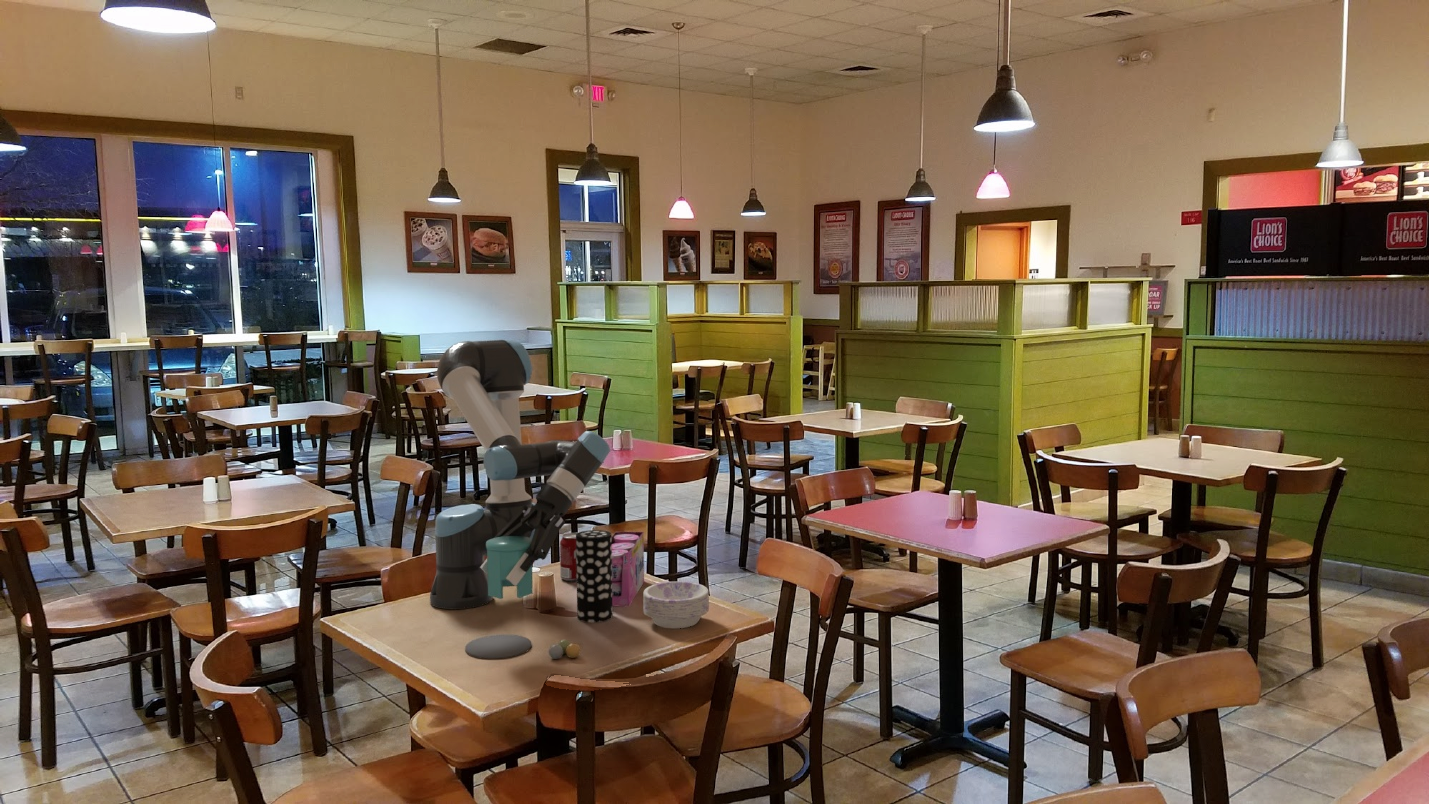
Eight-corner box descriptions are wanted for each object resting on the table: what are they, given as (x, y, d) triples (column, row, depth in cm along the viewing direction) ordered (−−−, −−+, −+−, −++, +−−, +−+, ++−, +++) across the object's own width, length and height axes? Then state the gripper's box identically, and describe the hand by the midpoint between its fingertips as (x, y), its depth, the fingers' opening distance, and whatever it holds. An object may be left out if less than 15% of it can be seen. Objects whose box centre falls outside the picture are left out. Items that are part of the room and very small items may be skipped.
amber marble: (563, 659, 215) (563, 645, 215) (569, 654, 218) (568, 641, 218) (577, 660, 214) (577, 646, 214) (582, 655, 217) (582, 642, 217)
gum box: (629, 608, 251) (628, 553, 249) (597, 607, 251) (596, 553, 250) (644, 581, 274) (644, 531, 273) (615, 580, 275) (614, 531, 274)
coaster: (453, 656, 217) (453, 653, 217) (483, 635, 231) (483, 632, 231) (515, 661, 214) (514, 658, 214) (541, 639, 228) (541, 636, 228)
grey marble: (546, 660, 215) (546, 646, 214) (552, 655, 217) (551, 641, 217) (560, 661, 214) (559, 647, 214) (565, 656, 217) (565, 642, 216)
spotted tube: (615, 612, 247) (614, 530, 245) (608, 623, 239) (607, 538, 237) (581, 611, 248) (580, 529, 246) (573, 621, 240) (572, 537, 238)
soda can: (567, 583, 272) (567, 539, 271) (556, 578, 277) (555, 534, 276) (590, 579, 276) (589, 535, 275) (578, 574, 281) (577, 531, 280)
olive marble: (555, 655, 218) (554, 641, 217) (560, 650, 220) (560, 637, 220) (568, 656, 217) (568, 642, 217) (573, 651, 220) (573, 638, 219)
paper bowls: (648, 635, 230) (647, 601, 229) (639, 615, 245) (639, 582, 244) (714, 631, 233) (714, 597, 232) (702, 611, 248) (702, 579, 247)
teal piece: (488, 586, 224) (487, 536, 223) (533, 584, 226) (533, 535, 224) (485, 599, 214) (484, 548, 213) (533, 597, 216) (532, 546, 215)
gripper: (599, 511, 220) (537, 598, 211) (541, 495, 236) (481, 575, 228) (578, 490, 216) (514, 578, 207) (521, 475, 232) (459, 556, 224)
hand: (497, 576), depth 217 cm, fingers closed on teal piece, 10 cm apart
